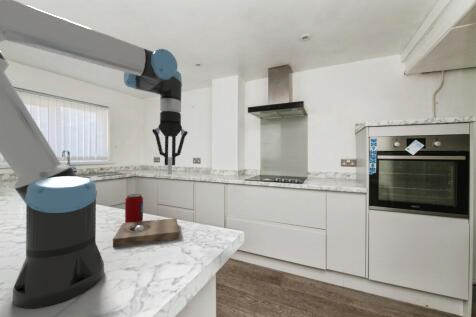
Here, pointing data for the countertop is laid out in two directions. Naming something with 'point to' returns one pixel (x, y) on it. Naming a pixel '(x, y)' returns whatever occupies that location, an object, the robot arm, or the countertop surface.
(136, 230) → the ball
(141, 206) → the beverage can
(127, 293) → the countertop surface
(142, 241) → the block
